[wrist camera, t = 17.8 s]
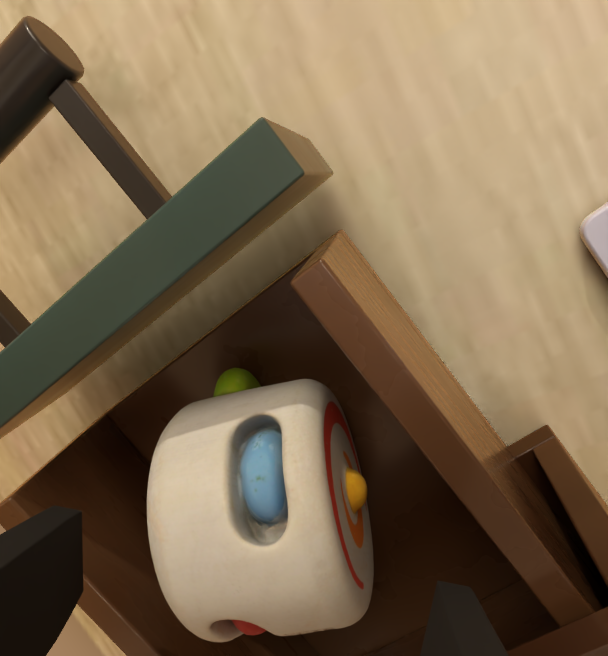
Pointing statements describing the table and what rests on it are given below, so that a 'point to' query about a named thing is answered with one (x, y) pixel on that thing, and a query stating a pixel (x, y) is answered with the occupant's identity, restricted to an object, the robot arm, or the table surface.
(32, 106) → the drawer
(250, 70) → the table surface
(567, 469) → the cabinet
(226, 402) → the roller toy
